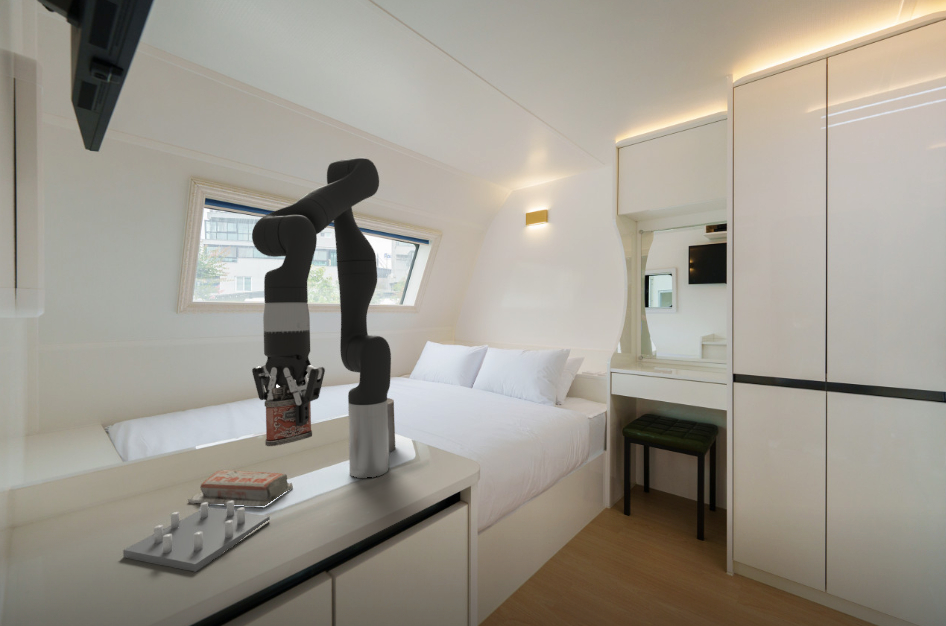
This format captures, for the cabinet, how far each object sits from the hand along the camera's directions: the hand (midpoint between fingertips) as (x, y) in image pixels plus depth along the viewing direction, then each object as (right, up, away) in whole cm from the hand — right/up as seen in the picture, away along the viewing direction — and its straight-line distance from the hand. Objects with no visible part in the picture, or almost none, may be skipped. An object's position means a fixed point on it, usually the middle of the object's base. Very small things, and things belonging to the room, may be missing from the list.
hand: (289, 423), depth 74 cm
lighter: (0, -3, 0) cm, 3 cm away
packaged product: (-17, -20, +15) cm, 30 cm away
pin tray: (-14, -20, -2) cm, 24 cm away
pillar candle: (+6, -19, +43) cm, 48 cm away
